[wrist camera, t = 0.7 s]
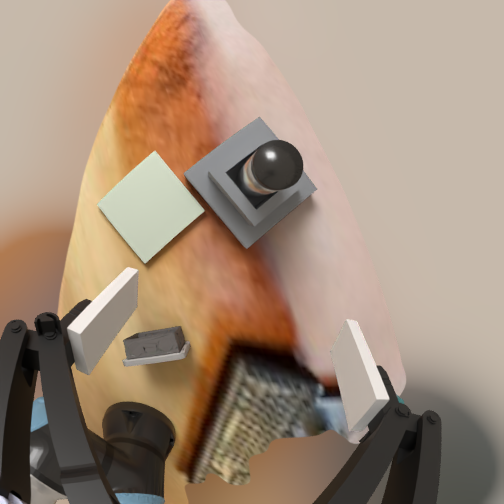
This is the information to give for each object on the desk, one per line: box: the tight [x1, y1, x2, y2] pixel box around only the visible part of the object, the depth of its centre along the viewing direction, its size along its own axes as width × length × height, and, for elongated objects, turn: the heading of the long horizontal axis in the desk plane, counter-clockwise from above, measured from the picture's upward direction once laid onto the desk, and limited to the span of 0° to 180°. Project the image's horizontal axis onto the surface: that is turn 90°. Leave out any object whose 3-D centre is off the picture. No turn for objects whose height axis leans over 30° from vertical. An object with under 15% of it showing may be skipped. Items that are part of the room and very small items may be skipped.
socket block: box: [184, 117, 317, 249], centre depth 38 cm, size 14×14×7 cm
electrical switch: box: [122, 326, 191, 367], centre depth 37 cm, size 9×5×9 cm, turn 99°
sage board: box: [97, 151, 205, 263], centre depth 38 cm, size 12×12×1 cm
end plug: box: [236, 140, 303, 197], centre depth 32 cm, size 5×5×13 cm
